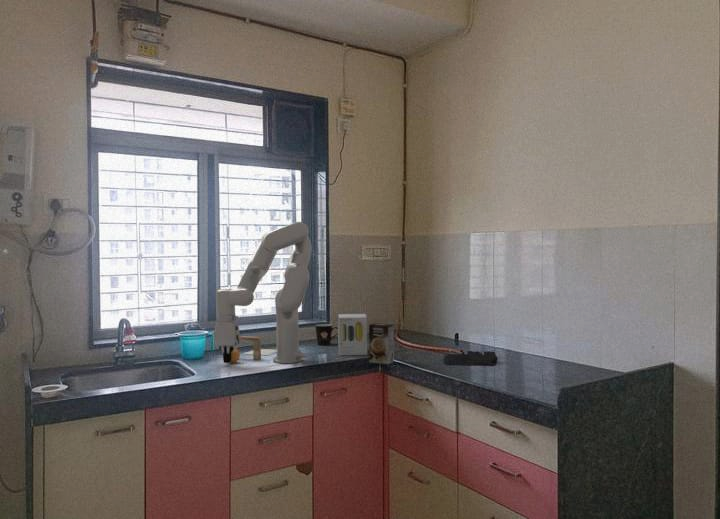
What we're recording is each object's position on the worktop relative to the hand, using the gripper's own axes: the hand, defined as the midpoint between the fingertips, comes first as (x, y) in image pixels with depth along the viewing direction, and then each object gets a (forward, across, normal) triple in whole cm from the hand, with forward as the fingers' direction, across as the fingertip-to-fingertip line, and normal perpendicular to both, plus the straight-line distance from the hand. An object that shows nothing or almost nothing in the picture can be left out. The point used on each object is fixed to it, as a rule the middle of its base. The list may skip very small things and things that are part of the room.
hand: (227, 362), depth 218 cm
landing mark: (+1, 0, -30) cm, 30 cm away
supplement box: (+2, -43, -39) cm, 58 cm away
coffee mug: (+2, -23, -56) cm, 61 cm away
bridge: (+1, 0, -14) cm, 14 cm away
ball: (-2, +1, -5) cm, 6 cm away
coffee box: (+2, -61, -21) cm, 65 cm away
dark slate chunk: (+3, -97, -30) cm, 102 cm away
